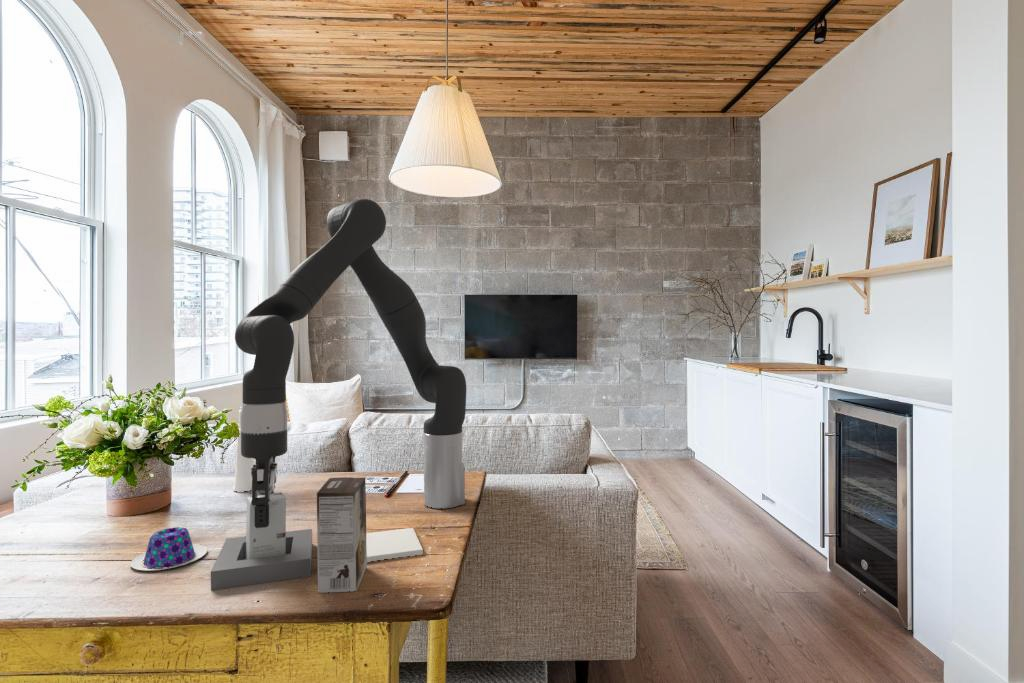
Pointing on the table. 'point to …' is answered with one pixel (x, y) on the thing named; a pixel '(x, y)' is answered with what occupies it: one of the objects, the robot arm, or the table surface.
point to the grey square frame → (262, 562)
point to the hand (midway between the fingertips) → (264, 519)
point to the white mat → (392, 544)
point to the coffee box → (341, 534)
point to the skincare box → (267, 529)
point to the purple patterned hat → (169, 550)
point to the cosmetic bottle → (242, 466)
